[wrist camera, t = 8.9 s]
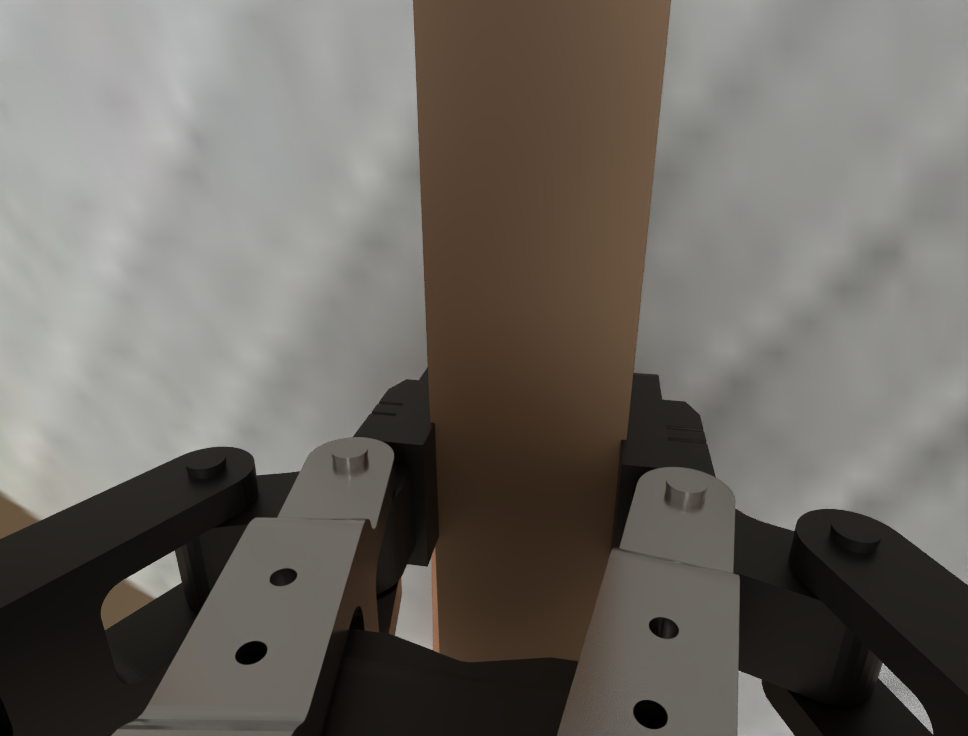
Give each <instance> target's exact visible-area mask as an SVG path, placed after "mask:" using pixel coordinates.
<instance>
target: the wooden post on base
mask: <svg viewBox="0 0 968 736" xmlns="http://www.w3.org/2000/svg"><path fill="white" fill-rule="evenodd" d="M670 5H671V0H413V9H414V33H415V58H416V83H417V108H418V133H419V157H420V182H421V207H422V232H423V256H424V281H425V306H426V331H427V356H428V380H429V405H430V423H435V438H436V465H437V492H438V519H439V538H438V541H437V543H436V546H435V554H436V579H437V603H438V628H439V653H441V654H443V655H446V656H448V657H451V658H454V659H456V660H460V661H464V662H483V661H500V660H516V659H532V658H548V657H553V658H560V659H567V660H574V661H579V659H580V655H581V652H582V648H583V645H584V642H585V638H586V635H587V631H588V628H589V625H590V621H591V618H592V614H593V611H594V608H595V604H596V601H597V597H598V594H599V591H600V587H601V584H602V580H603V577H604V574H605V570H606V567H607V563H608V560H609V557H610V550H611V540H612V530H613V519H614V509H615V499H616V489H617V478H618V468H619V458H620V448H621V440H627V430H628V420H629V410H630V401H631V391H632V381H633V371H634V361H635V351H636V341H637V331H638V321H639V312H640V302H641V292H642V282H643V272H644V262H645V252H646V242H647V232H648V223H649V213H650V203H651V193H652V183H653V173H654V163H655V153H656V144H657V134H658V124H659V114H660V104H661V94H662V84H663V74H664V64H665V55H666V45H667V35H668V25H669V15H670Z"/></svg>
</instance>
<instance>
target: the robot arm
mask: <svg viewBox="0 0 968 736" xmlns="http://www.w3.org/2000/svg"><path fill="white" fill-rule="evenodd" d="M438 538H439V519H438V492H437V465H436V438H435V423H430V405H429V380H428V367H427V369H426V370H425V372H424V373H423V375H422V376H421V378H420V379H419V380H407V379H406V380H405V381H403V382H401V383H399V384H397V385H395V386H394V387H392V388H390V389H388V391H387V392H386V393H385V395H384V396H383V397H382V399H381V400H380V401H379V404H377V405H376V407H375V408H374V409H373V411H372V414H370V415H369V416H368V417H367V419H366V420H365V421H364V423H363V424H362V425H361V427H360V428H359V429H358V431H357V432H356V433H355V435H354V436H353V437H350V438H343V439H338V440H334V441H330V442H328V443H325V444H323V445H321V446H319V447H317V448H316V449H314V450H313V451H312V452H311V453H310V454H309V455H308V457H307V459H306V461H305V463H304V465H303V467H302V469H301V471H299V472H292V473H281V474H269V475H257V476H256V469H255V463H254V458H253V456H252V455H251V454H250V453H248V452H247V451H245V450H242V449H239V448H234V447H211V448H205V449H201V450H196V451H193V452H190V453H187V454H185V455H182V456H180V457H178V458H176V459H173V460H171V461H169V462H167V463H165V464H163V465H160V466H158V467H156V468H154V469H152V470H150V471H147V472H145V473H143V474H141V475H139V476H136V477H134V478H132V479H130V480H128V481H126V482H123V483H121V484H119V485H117V486H115V487H113V488H110V489H108V490H106V491H104V492H102V493H100V494H97V495H95V496H93V497H91V498H89V499H87V500H84V501H82V502H80V503H78V504H76V505H74V506H71V507H69V508H67V509H65V510H63V511H61V512H58V513H56V514H54V515H52V516H50V517H48V518H45V519H43V520H41V521H39V522H37V523H35V524H32V525H30V526H28V527H26V528H24V529H22V530H19V531H17V532H15V533H13V534H11V535H9V536H6V537H4V538H2V539H0V736H737V727H738V670H739V671H742V672H744V673H747V674H750V675H752V676H755V677H757V678H760V679H762V686H763V690H764V692H765V695H766V697H767V698H768V700H769V702H770V703H771V704H772V706H773V707H774V708H775V710H776V711H777V712H778V714H779V715H780V716H781V718H782V719H783V720H784V722H785V723H786V724H787V726H788V727H789V728H790V730H791V731H792V732H793V734H794V735H795V736H968V585H967V584H965V583H964V582H963V581H961V580H960V579H959V578H957V577H956V576H955V575H953V574H952V573H951V572H949V571H948V570H947V569H945V568H944V567H943V566H942V565H940V564H939V563H938V562H936V561H935V560H934V559H932V558H931V557H930V556H928V555H927V554H926V553H924V552H923V551H922V550H920V549H919V548H918V547H916V546H915V545H914V544H912V543H911V542H910V541H908V540H907V539H906V538H905V537H903V536H902V535H901V534H899V533H898V532H896V531H895V530H894V529H892V528H891V527H889V526H887V525H885V524H883V523H882V522H880V521H877V520H875V519H873V518H870V517H867V516H865V515H862V514H858V513H854V512H850V511H845V510H837V509H820V510H814V511H810V512H808V513H805V514H804V515H802V516H801V517H800V518H799V519H798V521H797V524H796V528H795V531H791V530H788V529H785V528H781V527H778V526H774V525H771V524H767V523H764V522H761V521H758V520H756V519H754V518H751V517H749V516H747V515H745V514H743V513H741V512H740V511H738V510H737V509H735V496H734V494H733V492H732V491H731V489H730V488H729V487H728V486H727V485H726V484H725V483H723V482H722V481H721V480H719V479H717V478H716V477H715V473H714V469H713V465H712V461H711V457H710V453H709V449H708V445H707V444H706V438H705V434H704V432H703V426H702V422H701V418H700V415H699V414H698V413H697V412H696V411H695V410H694V409H693V408H692V407H690V406H689V405H688V404H687V403H686V402H684V401H671V400H662V397H661V390H660V383H659V376H658V375H654V374H640V373H633V381H632V391H631V401H630V410H629V420H628V430H627V440H621V448H620V458H619V468H618V478H617V489H616V499H615V509H614V519H613V530H612V540H611V550H610V557H609V560H608V563H607V567H606V570H605V574H604V577H603V580H602V584H601V587H600V591H599V594H598V597H597V601H596V604H595V608H594V611H593V614H592V618H591V621H590V625H589V628H588V631H587V635H586V638H585V642H584V645H583V648H582V652H581V655H580V659H579V661H574V660H567V659H560V658H553V657H548V658H532V659H516V660H500V661H483V662H464V661H460V660H456V659H454V658H451V657H448V656H446V655H443V654H441V653H438V652H435V651H433V650H430V649H428V648H425V647H422V646H420V645H417V644H415V643H412V642H409V641H407V640H404V639H402V638H399V637H396V636H395V630H396V625H397V619H398V613H399V608H400V602H401V596H402V585H401V576H402V575H403V572H404V570H405V568H406V565H407V564H411V565H419V566H428V564H429V561H430V559H431V556H432V554H433V551H434V549H435V546H436V543H437V541H438ZM174 550H175V553H176V557H177V562H178V567H179V571H180V576H181V580H182V583H181V584H179V585H177V586H176V587H174V588H173V589H171V590H169V591H168V592H166V593H164V594H163V595H161V596H160V597H158V598H156V599H155V600H153V601H152V602H150V603H148V604H147V605H145V606H144V607H142V608H140V609H139V610H137V611H135V612H134V613H132V614H131V615H129V616H128V617H126V618H124V619H123V620H121V621H119V622H118V623H116V624H115V625H113V626H111V627H110V628H108V629H107V630H104V627H103V623H102V620H101V607H102V603H103V601H104V599H105V597H106V596H107V594H108V593H109V591H110V590H111V589H112V588H113V587H114V586H115V585H117V584H118V583H119V582H121V581H122V580H124V579H125V578H127V577H129V576H131V575H132V574H134V573H136V572H138V571H139V570H141V569H143V568H145V567H146V566H148V565H150V564H152V563H153V562H155V561H157V560H158V559H160V558H162V557H164V556H165V555H167V554H169V553H171V552H172V551H174ZM882 663H884V664H885V665H886V666H887V667H888V668H889V669H890V670H891V671H892V672H893V673H894V674H895V675H896V676H897V677H898V678H899V679H900V680H901V681H902V682H903V683H904V684H905V685H906V686H907V687H908V688H909V689H910V690H911V692H912V693H913V694H914V695H915V696H916V697H917V698H918V699H919V701H920V702H921V703H922V705H923V707H924V708H925V710H926V712H927V714H928V716H929V718H930V721H931V724H932V728H933V734H934V735H933V734H932V733H931V732H930V731H929V730H928V729H927V728H926V727H925V726H924V725H923V724H922V723H921V722H920V721H919V720H918V719H917V718H916V717H915V716H914V715H913V714H912V713H911V712H910V711H909V709H908V708H907V707H906V706H905V705H904V704H903V703H902V702H901V701H900V700H899V699H898V698H897V697H896V696H895V695H894V694H893V693H892V692H891V691H890V690H889V689H888V688H887V687H886V686H885V685H884V684H883V683H882V681H881V680H880V679H879V678H878V676H879V673H880V670H881V666H882ZM140 715H141V716H140ZM139 716H140V717H139Z"/></svg>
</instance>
